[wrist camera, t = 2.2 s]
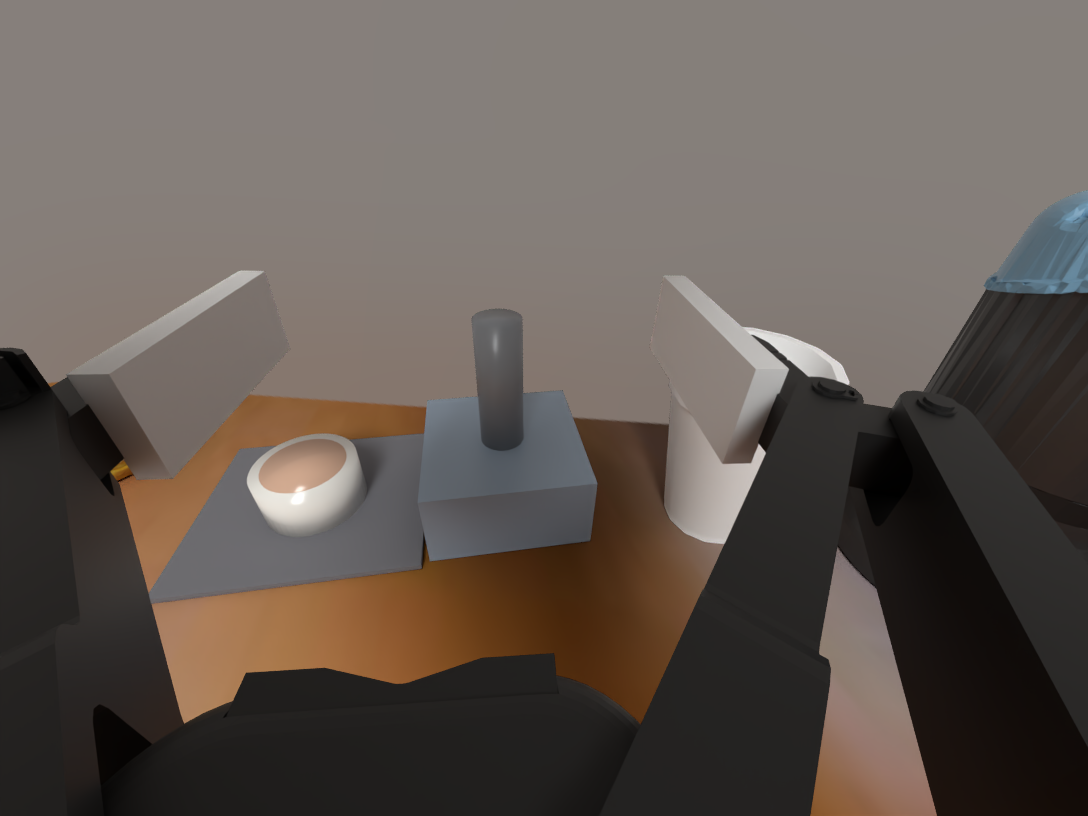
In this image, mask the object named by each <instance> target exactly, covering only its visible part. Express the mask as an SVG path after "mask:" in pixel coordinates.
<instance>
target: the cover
mask: <svg viewBox="0 0 1088 816" xmlns="http://www.w3.org/2000/svg"><path fill="white" fill-rule="evenodd" d="M472 330H473V342H474V355H475V368H476V379H477V392H478V397H466V398H452V399H439V400H428V401H427V411H426V421H425V432H424V442H423V452H422V462H421V473H420V483H419V493H418V507H419V512H420V517H421V521H422V526H423V531H424V536H425V540H426V545H427V550H428V554H429V559H430V561H436V560H444V559H452V558H460V557H468V556H476V555H483V554H491V553H499V552H507V551H515V550H523V549H531V548H539V547H546V546H554V545H562V544H570V543H578V542H586V541H590V539H591V531H592V523H593V515H594V507H595V499H596V492H597V481H596V478H595V476H594V473H593V470H592V468H591V465H590V462H589V460H588V457H587V454H586V452H585V449H584V446H583V443H582V441H581V438H580V435H579V433H578V430H577V427H576V425H575V422H574V419H573V417H572V414H571V411H570V409H569V406H568V403H567V401H566V399H565V395H564V393H563V390H562V391H548V392H534V393H523V329H522V316H521V315H520V314H519V313H517V312H515V311H512V310H507V309H489V310H484V311H481V312H478V313H476V314H475V315H474V316H473V317H472Z"/></svg>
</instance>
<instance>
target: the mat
mask: <svg viewBox="0 0 1088 816" xmlns="http://www.w3.org/2000/svg"><path fill="white" fill-rule="evenodd" d="M349 441H351V442H352V443H353V444H354V446H355V448H356V451H357V454H358V458H359V461H360V464H361V468H362V471H363V474H364V478H365V481H366V484H367V494H366V497H365V500H364V502H363V503H362V505H361V506H360V508H359V509H358V510H357V511H356V512H355V513H354V514H353V515H352V516H351V517H350V518H349V519H347V520H346V521H345V522H343V523H341V524H340V525H338V526H336V527H334V528H332V529H330V530H328V531H325V532H322V533H319V534H315V535H311V536H305V537H290V536H284V535H281V534H278V533H276V532H274V531H273V530H272V529H271V528H270V527H269V526H268V524H267V522H266V521H265V519H264V517H263V515H262V513H261V511H260V509H259V507H258V505H257V503H256V501H255V499H254V497H253V496H252V494H251V492H250V490H249V488H248V485H247V477H248V473H249V471H250V469H251V467H252V466H253V465H254V463H255V462H256V461H257V460H258V459H259V458H260V457H261V456H262V455H264V454H265V453H266V452H268V451H269V450H271V449H272V448H274V447H276V446H270V447H258V448H246V449H240V450H239V451H238V453H237V455H236V456H235V458H234V459H233V461H232V462H231V464H230V466H229V467H228V469H227V470H226V472H225V474H224V475H223V477H222V478H221V480H220V481H219V483H218V485H217V486H216V488H215V489H214V491H213V493H212V494H211V496H210V497H209V499H208V500H207V502H206V504H205V505H204V507H203V508H202V510H201V512H200V513H199V515H198V516H197V518H196V519H195V521H194V523H193V524H192V526H191V527H190V529H189V531H188V532H187V534H186V535H185V537H184V539H183V540H182V542H181V543H180V545H179V546H178V548H177V550H176V551H175V553H174V554H173V556H172V558H171V559H170V561H169V562H168V564H167V565H166V567H165V569H164V570H163V572H162V573H161V575H160V577H159V578H158V580H157V581H156V583H155V584H154V586H153V588H152V589H151V591H150V592H149V597H150V601H151V604H152V603H160V602H168V601H176V600H183V599H191V598H199V597H207V596H214V595H222V594H230V593H238V592H245V591H253V590H261V589H269V588H276V587H284V586H292V585H300V584H307V583H315V582H323V581H331V580H338V579H346V578H354V577H362V576H369V575H377V574H385V573H393V572H400V571H408V570H416V569H422V559H423V545H424V531H423V526H422V521H421V517H420V512H419V507H418V493H419V483H420V473H421V462H422V452H423V442H424V434H412V435H400V436H389V437H377V438H365V439H353V440H349Z"/></svg>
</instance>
